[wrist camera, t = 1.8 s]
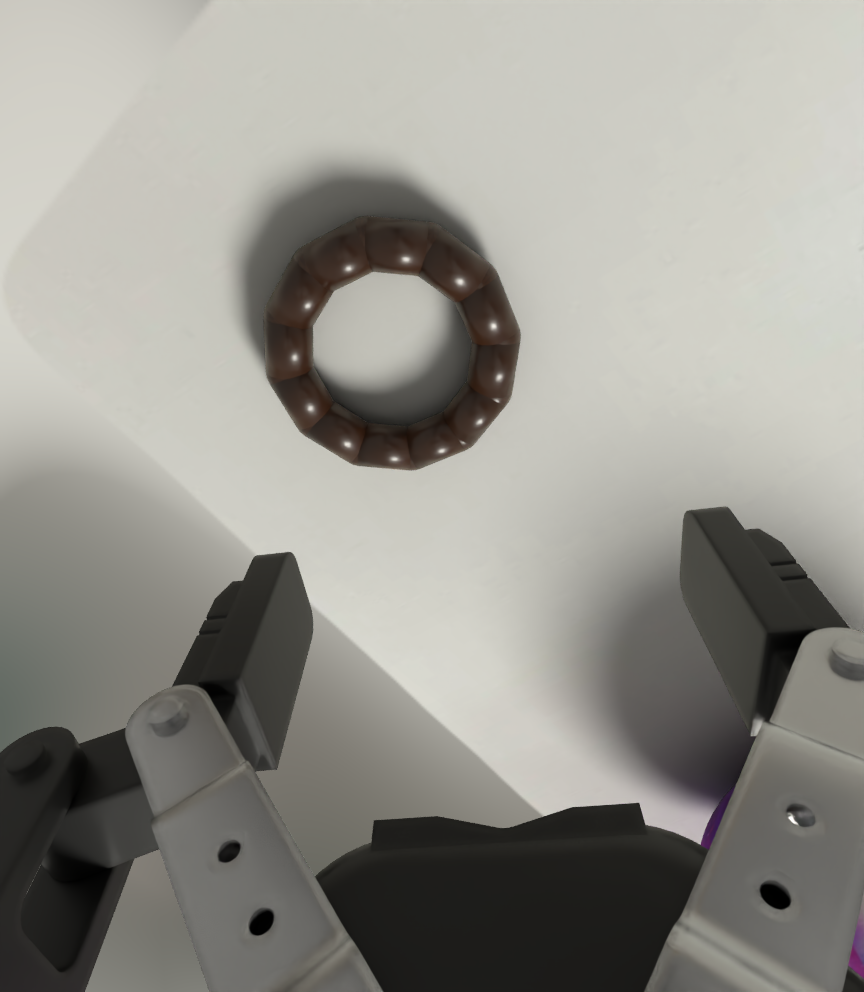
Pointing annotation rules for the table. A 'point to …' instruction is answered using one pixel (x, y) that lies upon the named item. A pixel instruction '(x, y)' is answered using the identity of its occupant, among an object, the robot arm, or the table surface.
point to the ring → (395, 252)
